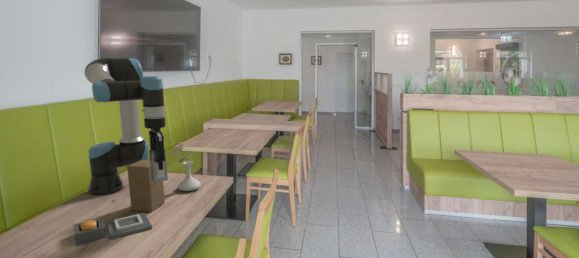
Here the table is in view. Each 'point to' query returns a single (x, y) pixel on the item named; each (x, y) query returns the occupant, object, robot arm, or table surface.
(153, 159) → the steel billet
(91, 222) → the button
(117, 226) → the plate
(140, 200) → the wooden block
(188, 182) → the flower in vase
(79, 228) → the button station
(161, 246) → the table surface
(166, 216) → the table surface
